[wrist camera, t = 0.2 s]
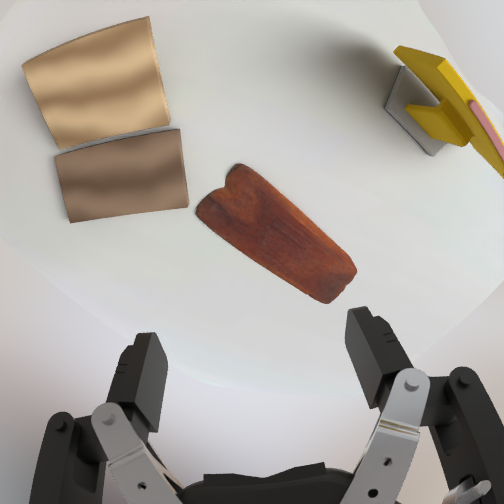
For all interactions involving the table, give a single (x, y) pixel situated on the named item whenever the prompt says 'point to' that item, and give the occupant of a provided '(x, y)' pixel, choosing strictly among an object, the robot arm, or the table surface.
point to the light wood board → (100, 84)
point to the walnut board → (124, 177)
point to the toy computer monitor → (441, 108)
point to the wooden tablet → (276, 235)
